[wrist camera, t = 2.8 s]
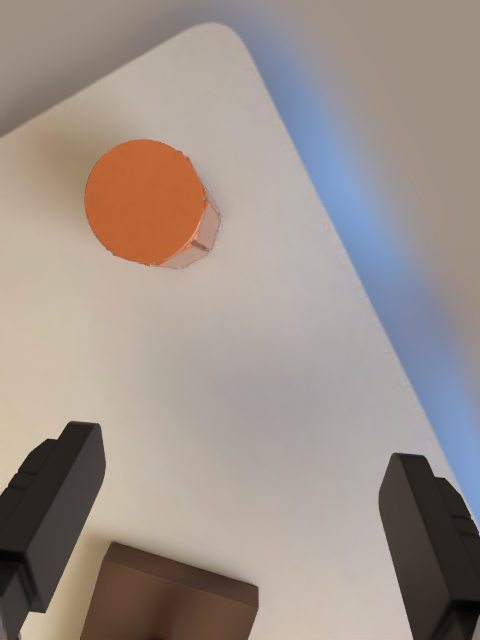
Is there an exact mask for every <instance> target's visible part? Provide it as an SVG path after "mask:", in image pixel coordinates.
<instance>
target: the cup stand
mask: <svg viewBox="0 0 480 640" xmlns="http://www.w3.org/2000/svg"><path fill="white" fill-rule="evenodd" d="M258 609H259V597H258V587H255V586H252V585H248V584H245V583H242V582H239V581H236V580H232V579H229V578H226V577H223V576H220V575H216V574H213V573H210V572H207V571H204V570H200V569H197V568H194V567H191V566H188V565H184V564H181V563H178V562H175V561H172V560H168V559H165V558H162V557H159V556H156V555H152V554H149V553H146V552H143V551H140V550H136V549H133V548H130V547H127V546H124V545H120V544H117V543H114V542H112V544H111V546H110V547H109V549H108V551H107V553H106V555H105V557H104V558H103V561H102V564H101V568H100V571H99V575H98V578H97V582H96V585H95V589H94V592H93V596H92V599H91V603H90V606H89V610H88V613H87V617H86V620H85V624H84V627H83V631H82V634H81V638H80V640H248V638H249V635H250V632H251V629H252V626H253V623H254V620H255V617H256V614H257V611H258Z"/></svg>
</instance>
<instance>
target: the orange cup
mask: <svg viewBox="0 0 480 640" xmlns="http://www.w3.org/2000/svg"><path fill="white" fill-rule="evenodd" d="M85 210H86V215H87V219H88V222H89V225H90V227H91V229H92V231H93V233H94V234H95V236H96V237H97V239H98V240H99V241H100V242H101V243H102V245H104V246H105V248H106V249H107V250H108V251H111V252H112V253H113V255H114V256H117V257H121V258H123V259H126V260H128V261H133V262H137V263H140V264H144V265H147V266H150V267H162V268H174V269H177V268H184V267H186V266H188V265H190V264H191V263H193V262H195V261H197V260H199V259H201V258H202V257H204V256H206V255H208V254H209V253H208V251H207V249H210V250H212V248H213V245H214V242H215V238H216V235H217V231H218V228H219V224H220V221H221V220H220V219H219V217H218V216H219V215H220V213H219V212H218V210H217V208H216V206H215V204H214V202H213V200H212V198H211V196H210V195H209V193H208V191H207V189H206V187H205V185H204V184H203V182H202V180H201V178H200V177H199V175H198V173H197V171H196V170H195V168H194V166H193V164H192V163H191V161H190V159H189V158H188V157H186V158H185V156H184V154H183V153H182V152H181V151H178V150H175V149H174V148H172V147H170V146H168V145H166V144H164V143H161V142H157V141H153V140H133V141H128V142H125V143H122V144H120V145H118V146H116V147H114V148H112V149H111V150H109V151H108V152H107V153H106V154H105V155H103V156H102V157H101V158H100V160H99V161H98V162H97V163H96V165H95V166H94V168H93V169H92V171H91V174H90V176H89V178H88V181H87V184H86V190H85ZM206 248H207V249H206Z"/></svg>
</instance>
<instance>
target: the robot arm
mask: <svg viewBox="0 0 480 640" xmlns="http://www.w3.org/2000/svg"><path fill="white" fill-rule="evenodd" d="M105 468H106V460H105V453H104V446H103V439H102V431H101V426H100V424H98V423H88V422H77V421H70V422H69V423H68V424H67V425H66V427H65V428H64V430H63V432H62V433H61V435H60V436H59V438H58V440H56V439H46V440H45V441H44V442H43V443H41V444H40V445H39V446H38V447H36V448H35V449H34V450H33V451H31V452H30V453H29V455H28V456H27V458H26V459H25V460H24V462H23V463H22V465H21V466H20V468H19V469H18V473H16V474H15V475H14V477H13V478H12V479H11V481H10V482H9V484H8V487H7V488H5V490H4V491H3V493H2V494H1V495H0V640H21V634H20V630H21V628H22V625H23V623H24V621H25V619H26V617H27V615H28V613H29V611H30V612H39V613H46V610H47V608H48V606H49V604H50V601H51V599H52V597H53V594H54V592H55V590H56V588H57V585H58V583H59V581H60V579H61V576H62V574H63V572H64V569H65V567H66V565H67V563H68V560H69V558H70V556H71V554H72V551H73V549H74V547H75V544H76V542H77V540H78V538H79V535H80V533H81V531H82V529H83V526H84V524H85V522H86V519H87V517H88V515H89V513H90V510H91V508H92V506H93V504H94V501H95V499H96V497H97V494H98V492H99V490H100V488H101V485H102V482H103V479H104V475H105ZM379 511H380V516H381V520H382V523H383V527H384V531H385V535H386V538H387V542H388V546H389V550H390V553H391V557H392V561H393V565H394V568H395V572H396V576H397V580H398V583H399V587H400V591H401V595H402V598H403V602H404V606H405V609H406V613H407V617H408V621H409V624H410V628H411V632H412V636H413V639H414V640H480V536H479V531H478V529H477V527H476V525H475V523H474V521H473V520H471V515H470V513H469V511H468V509H467V507H466V505H465V503H464V501H463V499H462V496H461V495H460V494H459V493H458V492H457V491H456V490H455V489H454V487H453V486H452V485H451V484H450V483H449V482H448V481H447V480H446V479H445V478H439V477H435V476H434V474H433V472H432V470H431V467H430V465H429V463H428V461H427V459H426V457H424V456H423V455H415V454H404V453H393V454H392V456H391V458H390V461H389V464H388V467H387V470H386V473H385V476H384V479H383V482H382V484H381V487H380V491H379Z"/></svg>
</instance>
